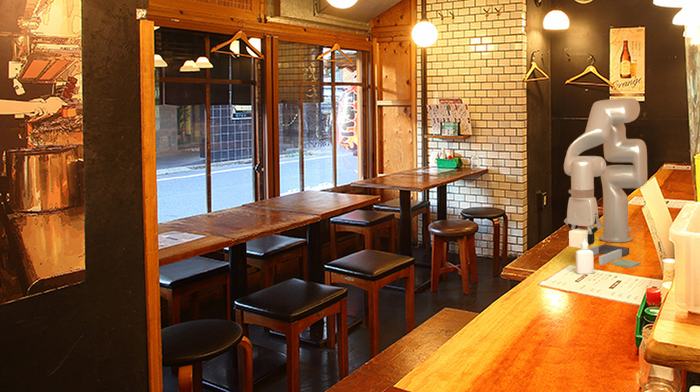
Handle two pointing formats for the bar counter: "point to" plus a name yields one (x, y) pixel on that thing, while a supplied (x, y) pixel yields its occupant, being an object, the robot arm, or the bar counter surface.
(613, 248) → the tray
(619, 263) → the green coaster
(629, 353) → the bar counter surface
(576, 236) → the cream block
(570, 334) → the bar counter surface
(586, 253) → the eye dropper bottle
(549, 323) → the bar counter surface
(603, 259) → the channel
